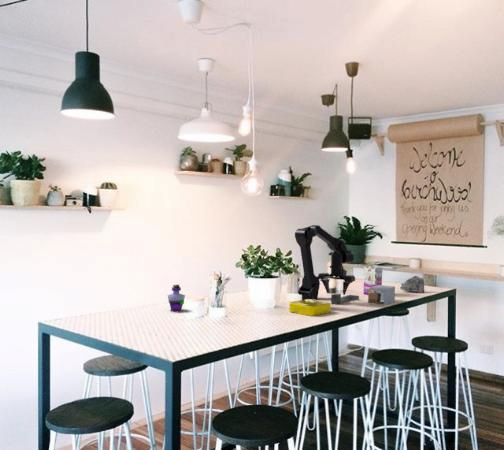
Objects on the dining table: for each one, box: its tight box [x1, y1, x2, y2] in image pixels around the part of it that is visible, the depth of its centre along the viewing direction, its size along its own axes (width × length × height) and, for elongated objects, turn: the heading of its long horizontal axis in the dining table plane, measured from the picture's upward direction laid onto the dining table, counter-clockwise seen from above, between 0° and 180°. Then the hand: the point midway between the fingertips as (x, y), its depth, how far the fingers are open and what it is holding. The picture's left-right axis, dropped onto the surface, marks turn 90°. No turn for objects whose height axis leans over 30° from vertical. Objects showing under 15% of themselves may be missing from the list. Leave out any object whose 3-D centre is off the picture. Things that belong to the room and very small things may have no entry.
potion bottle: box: [167, 284, 186, 312], centre depth 248 cm, size 9×9×12 cm
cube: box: [367, 293, 382, 305], centre depth 278 cm, size 5×5×5 cm
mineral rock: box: [399, 275, 425, 294], centre depth 319 cm, size 13×11×10 cm
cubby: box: [369, 284, 396, 306], centre depth 280 cm, size 14×9×8 cm, turn 146°
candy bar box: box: [363, 265, 383, 296], centre depth 304 cm, size 11×5×16 cm, turn 25°
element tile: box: [288, 299, 332, 317], centre depth 248 cm, size 15×15×5 cm
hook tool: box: [330, 293, 360, 306], centre depth 278 cm, size 21×6×5 cm, turn 146°
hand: (335, 293), depth 272 cm, fingers open, 9 cm apart
